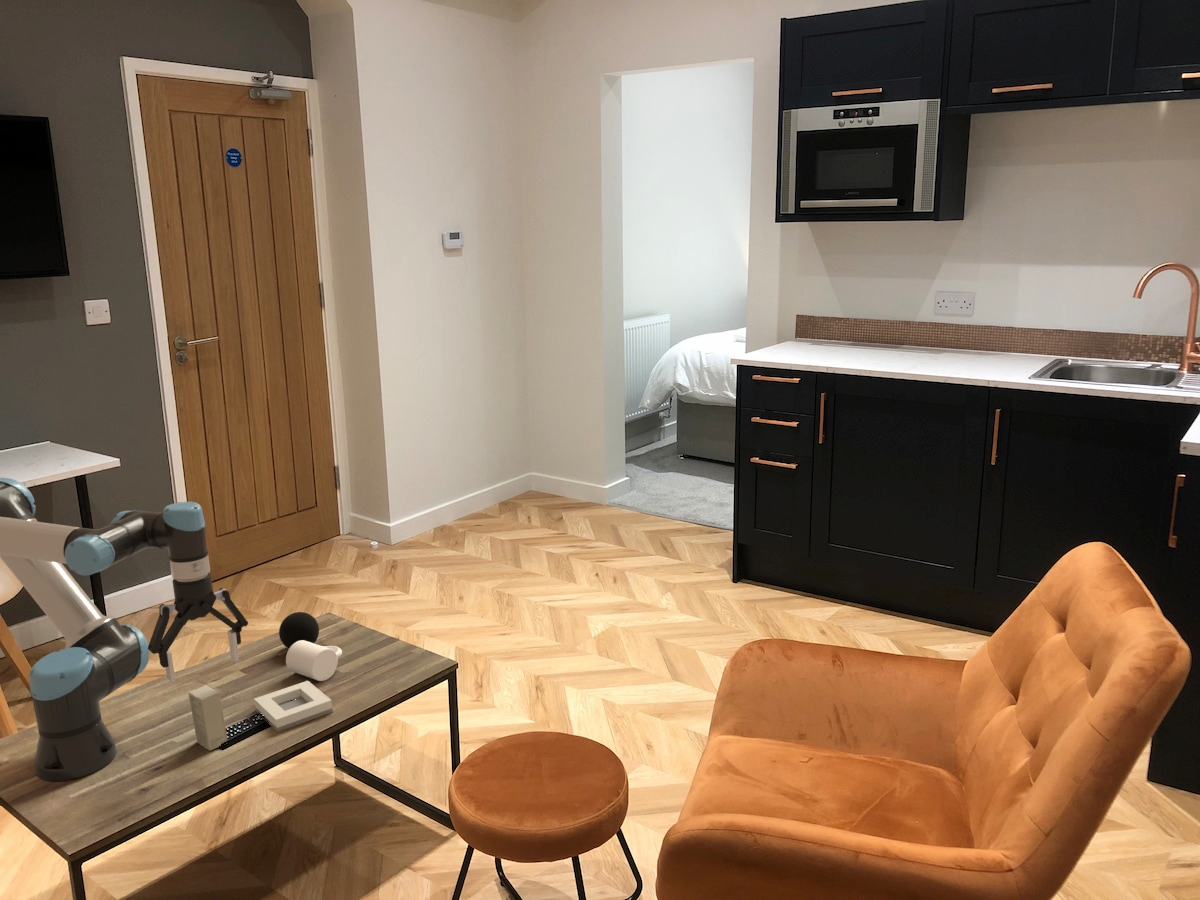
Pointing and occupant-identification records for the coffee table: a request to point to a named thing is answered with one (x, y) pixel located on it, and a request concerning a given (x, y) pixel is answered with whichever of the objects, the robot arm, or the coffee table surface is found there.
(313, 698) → the socket block
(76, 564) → the robot arm
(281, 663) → the coffee table surface
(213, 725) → the skincare box
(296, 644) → the mug
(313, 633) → the decorative ball
